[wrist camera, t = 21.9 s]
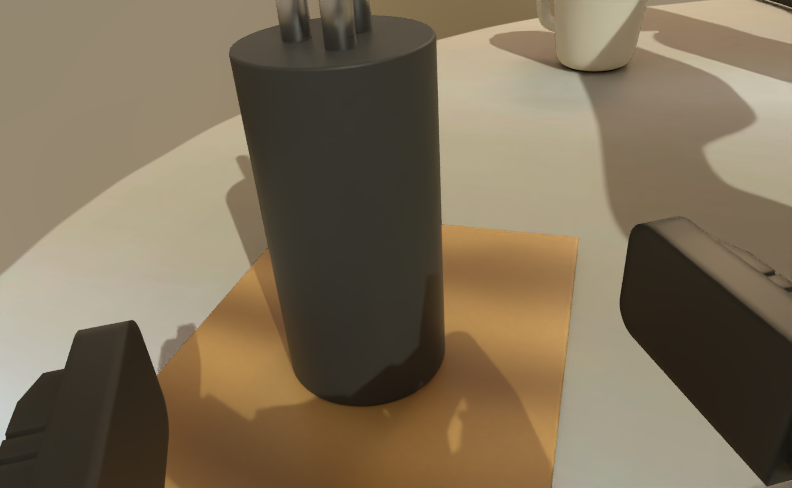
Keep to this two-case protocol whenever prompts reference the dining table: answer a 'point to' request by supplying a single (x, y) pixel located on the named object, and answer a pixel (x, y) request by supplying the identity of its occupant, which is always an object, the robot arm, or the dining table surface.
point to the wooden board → (396, 421)
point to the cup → (593, 31)
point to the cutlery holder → (349, 193)
